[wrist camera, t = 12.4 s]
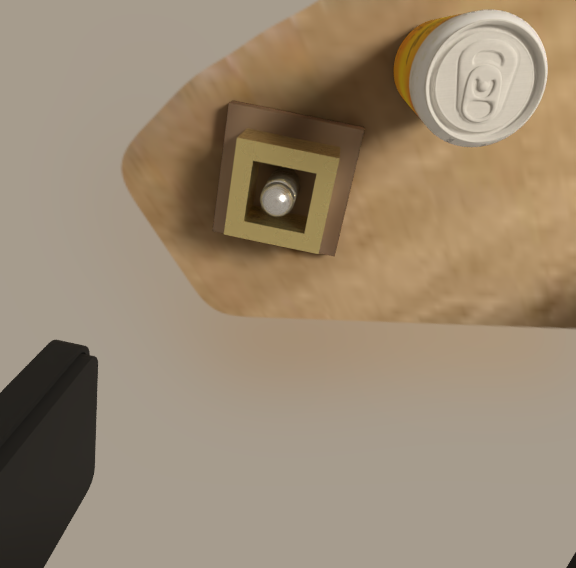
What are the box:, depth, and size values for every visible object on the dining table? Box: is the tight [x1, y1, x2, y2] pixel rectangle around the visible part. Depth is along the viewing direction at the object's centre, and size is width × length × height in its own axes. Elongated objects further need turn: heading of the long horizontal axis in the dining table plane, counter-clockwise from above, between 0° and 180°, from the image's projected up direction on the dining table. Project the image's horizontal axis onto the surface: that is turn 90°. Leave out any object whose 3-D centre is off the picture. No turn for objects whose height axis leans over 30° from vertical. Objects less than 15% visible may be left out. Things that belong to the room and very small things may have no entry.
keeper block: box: [213, 101, 364, 256], centre depth 39 cm, size 10×10×7 cm
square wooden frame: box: [224, 128, 341, 254], centre depth 39 cm, size 7×7×4 cm
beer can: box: [394, 10, 548, 147], centre depth 31 cm, size 6×6×15 cm
